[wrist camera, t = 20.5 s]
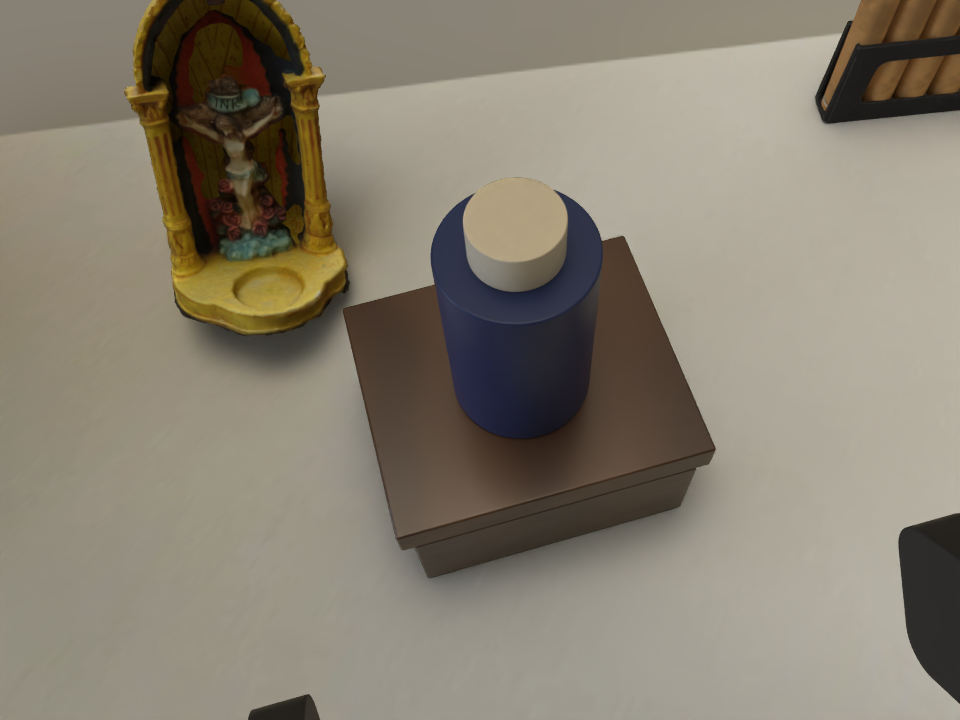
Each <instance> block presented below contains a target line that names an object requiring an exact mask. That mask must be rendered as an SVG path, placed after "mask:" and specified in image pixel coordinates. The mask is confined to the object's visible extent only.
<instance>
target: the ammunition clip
mask: <svg viewBox="0 0 960 720" xmlns="http://www.w3.org/2000/svg"><path fill="white" fill-rule="evenodd" d="M815 98H816V101H817V104H818V107H819V110H820V112H821V115H822V118H823V121H825V122H826V123H836V122H845V121H855V120H865V119H874V118H884V117H894V116H904V115H913V114H923V113H933V112H942V111H952V110H960V0H861V2H860V5H859V8H858V10H857V13H856V15H855V18H854V20H853V21H848V22H847V25H846V27H845V29H844V31H843V34H842V36H841V38H840V41H839V43H838V45H837V48H836V50H835V52H834V54H833V57H832V59H831V61H830V64H829V66H828V68H827V71H826V73H825V75H824V78H823V80H822V82H821V84H820V87H819V89H818V91H817V94H816V96H815Z"/></svg>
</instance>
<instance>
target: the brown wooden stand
mask: <svg viewBox="0 0 960 720" xmlns="http://www.w3.org/2000/svg"><path fill="white" fill-rule="evenodd" d="M602 245H603V264H602V273H601V282H600V291H599V300H598V309H597V318H596V327H595V336H594V345H593V354H592V363H591V371H590V380H589V387H588V392H587V395H586V398H585V400H584V402H583V404H582V406H581V407H580V409H579V410H578V412H577V413H576V414H575V415H574V416H573V418H572V419H571V420H569V421H568V422H567V423H566V424H565V425H563V426H562V427H560V428H559V429H557V430H555V431H553V432H551V433H548V434H545V435H542V436H538V437H533V438H524V439H520V438H509V437H503V436H500V435H496V434H494V433H491V432H489V431H487V430H485V429H484V428H482V427H480V426H479V425H478V424H476V423H475V422H474V421H473V420H472V419H471V418H470V417H469V416H468V415H467V414H466V413H465V411H464V410H463V409H462V407H461V405H460V403H459V402H458V399H457V396H456V394H455V389H454V384H453V379H452V374H451V368H450V363H449V358H448V352H447V347H446V342H445V336H444V331H443V326H442V320H441V315H440V310H439V304H438V299H437V294H436V288H435V285H432V286H428V287H424V288H420V289H416V290H412V291H409V292H405V293H401V294H397V295H393V296H389V297H385V298H382V299H378V300H374V301H370V302H366V303H362V304H359V305H355V306H351V307H347V308H344V309H343V314H344V318H345V323H346V327H347V331H348V335H349V340H350V344H351V348H352V353H353V357H354V361H355V365H356V370H357V374H358V378H359V383H360V387H361V391H362V395H363V400H364V404H365V408H366V413H367V417H368V421H369V426H370V430H371V434H372V438H373V443H374V447H375V451H376V456H377V460H378V464H379V468H380V473H381V477H382V481H383V486H384V490H385V494H386V498H387V503H388V507H389V511H390V516H391V520H392V524H393V529H394V533H395V537H396V540H397V542H398V544H399V546H400V548H401V550H407V549H410V548H414V547H415V549H416V551H417V553H418V556H419V558H420V560H421V563H422V565H423V567H424V570H425V572H426V574H427V577H428V578H431V577H435V576H438V575H442V574H445V573H449V572H452V571H456V570H459V569H463V568H466V567H470V566H473V565H477V564H480V563H484V562H487V561H491V560H494V559H498V558H501V557H505V556H508V555H512V554H515V553H519V552H522V551H526V550H529V549H533V548H536V547H540V546H543V545H547V544H550V543H554V542H558V541H561V540H565V539H568V538H572V537H575V536H579V535H582V534H586V533H589V532H593V531H596V530H600V529H603V528H607V527H610V526H614V525H617V524H621V523H624V522H628V521H631V520H635V519H638V518H642V517H645V516H649V515H652V514H656V513H659V512H663V511H666V510H670V509H673V508H677V507H680V505H681V503H682V501H683V498H684V496H685V494H686V491H687V489H688V487H689V485H690V482H691V480H692V478H693V475H694V473H695V471H696V468H697V467H701V466H704V465H708V464H709V463H710V461H711V459H712V457H713V455H714V452H715V450H716V448H715V446H714V443H713V441H712V439H711V436H710V434H709V432H708V429H707V427H706V425H705V422H704V420H703V418H702V416H701V413H700V411H699V409H698V406H697V404H696V402H695V399H694V397H693V395H692V392H691V390H690V388H689V385H688V383H687V381H686V378H685V376H684V374H683V372H682V369H681V367H680V365H679V362H678V360H677V358H676V355H675V353H674V351H673V348H672V346H671V344H670V341H669V339H668V337H667V334H666V332H665V330H664V327H663V325H662V323H661V321H660V318H659V316H658V314H657V311H656V309H655V307H654V304H653V302H652V300H651V297H650V295H649V293H648V290H647V288H646V286H645V283H644V281H643V279H642V277H641V274H640V272H639V270H638V267H637V265H636V263H635V260H634V258H633V256H632V253H631V251H630V249H629V246H628V244H627V242H626V239H625V237H624V236H620V237H616V238H612V239H608V240H605V241H602Z"/></svg>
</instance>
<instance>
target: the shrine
mask: <svg viewBox="0 0 960 720" xmlns="http://www.w3.org/2000/svg"><path fill="white" fill-rule="evenodd" d="M309 55H310V54H309V52H308V51H307V49H306V45H305V39H304V37H303V36H302V34H301V32H300V27H298V25H296V24H294V22H293V19H292V17H291V16H290V14H288V13H287V12H286V11H285V9H284V8H283V6H282V4H280V2H278V1H276V0H152V1H151V3H150V4H149V6H148V8H147V9H146V11H145V14H144V16H143V18H142V19H141V21H140V24H139V27H138V30H137V34H136V38H135V42H134V47H133V56H134V62H133V66H134V78H135V80H136V86H128V87H126V88H125V91H124V94H125V95H126V96H127V100H128V101H129V103H131V107H132V110H134V111H135V112H136V113H138V115H139V117H140V124H141V125H142V126H143V128H144V130H145V135H146V138H147V143H148V147H149V151H150V157H151V161H152V167H153V170H154V173H155V179H156V183H157V190H158V193H159V199H160V202H161V205H162V209H163V214H164V216H163V218H162V219H163V220H162V221H163V223H164V226H165V227H166V229H167V238H168V244H169V247H170V249H171V261H172V271H171V275H172V279H173V289H174V295H175V303H176V305H177V307H178V308H179V310H180V311H181V314H182V315H183V316H185V317H187V318H191V319H194V320H197V321H199V322H203V323H208V324H215V325H218V326H220V327H222V328H224V329H227V330H231V331H233V332H235V333H236V334H238V335H243V336H253V335H272V334H276V333H283V332H286V331H289V330H293V329H296V328H299V327H302V326H304V325H305V324H306V323H307V322H308V321H310V320H312V319H314V318H317V317H319V316H321V315H322V313H323V312H324V310H325V308H326V307H327V306H328V305H329V303H330V301H331V299H332V298H333V297H334V296H335V295H337V294H338V293H340V292H341V293H346V292H347V291H348V289H349V288H348V287H349V283H350V282H349V280H348V273H347V271H346V269H347V267H348V264H347V260H346V258H345V255H344V251H343V250H342V249H341V248H340V247H338V246H337V244H336V242H334V238H333V235H332V226H333V222H332V218H331V215H330V211H329V210H330V207H331V205H330V203H329V201H328V200H327V191H326V184H325V180H324V166H323V161H322V150H321V136H320V126H319V117H318V110H319V107H320V105H319V103H318V99H317V94H318V89H319V88H320V86H321V84H322V83H323V82H324V78H325V77H326V75H324V74H323V73H322V69H321V68H320V67H314V66H313V65H312V63H311V62H310V59H309Z"/></svg>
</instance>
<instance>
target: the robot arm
mask: <svg viewBox="0 0 960 720" xmlns="http://www.w3.org/2000/svg"><path fill="white" fill-rule="evenodd" d="M898 544H899V557H900V567H901V577H902V587H903V598H904V608H905V618H906V627H907V633H908V637H909V640H910V643H911V646H912V648H913V651H914V653H915V655H916V657H917V659H918V660H919V662H920V664H921V665H922V667H923V668H924V669H925V671H926V672H927V673H928V674H929V675H930V676H931V677H932V678H933V679H934V680H935V681H936V682H937V683H938V684H939V685H940V686H941V687H942V688H943V689H944V690H945V691H947V692H948V693H949V694H950V695H951V696H952V697H953V698H954V699H955V700H956V701H957V702H958V703H960V513H956V514H952V515H948V516H945V517H941V518H938V519H934V520H931V521H927V522H924V523H920V524H917V525H913V526H909V527H906V528H904V529H903V530H902V531H901V533H900V536H899V542H898ZM248 720H320V718H319V715H318V712H317V709H316V706H315V703H314V701H313V699H312V697H311V696H310V695H309V694H307V695H303V696H300V697H296V698H293V699H289V700H286V701H282V702H278V703H275V704H271V705H268V706H264V707H261V708H257V709H254V710H252V711H251V712H250V714H249V718H248Z"/></svg>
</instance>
